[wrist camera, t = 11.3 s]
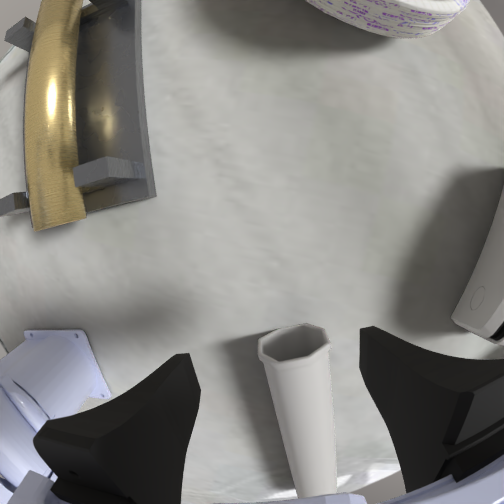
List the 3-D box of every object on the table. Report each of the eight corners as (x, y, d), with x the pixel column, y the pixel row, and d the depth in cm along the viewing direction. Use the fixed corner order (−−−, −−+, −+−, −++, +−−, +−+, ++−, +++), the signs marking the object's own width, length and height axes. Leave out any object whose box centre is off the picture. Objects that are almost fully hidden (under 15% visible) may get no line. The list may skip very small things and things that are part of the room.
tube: (346, 500, 23) (344, 342, 18) (306, 518, 22) (270, 372, 17) (326, 474, 28) (308, 316, 23) (289, 490, 27) (246, 338, 22)
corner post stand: (42, 225, 21) (-3, 237, 15) (40, 41, 17) (6, 23, 11) (156, 196, 20) (120, 199, 14) (141, -8, 16) (117, -43, 10)
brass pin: (96, 215, 18) (64, 222, 14) (56, 226, 18) (23, 234, 14) (92, -8, 14) (73, -29, 10) (56, 10, 14) (35, -6, 10)
